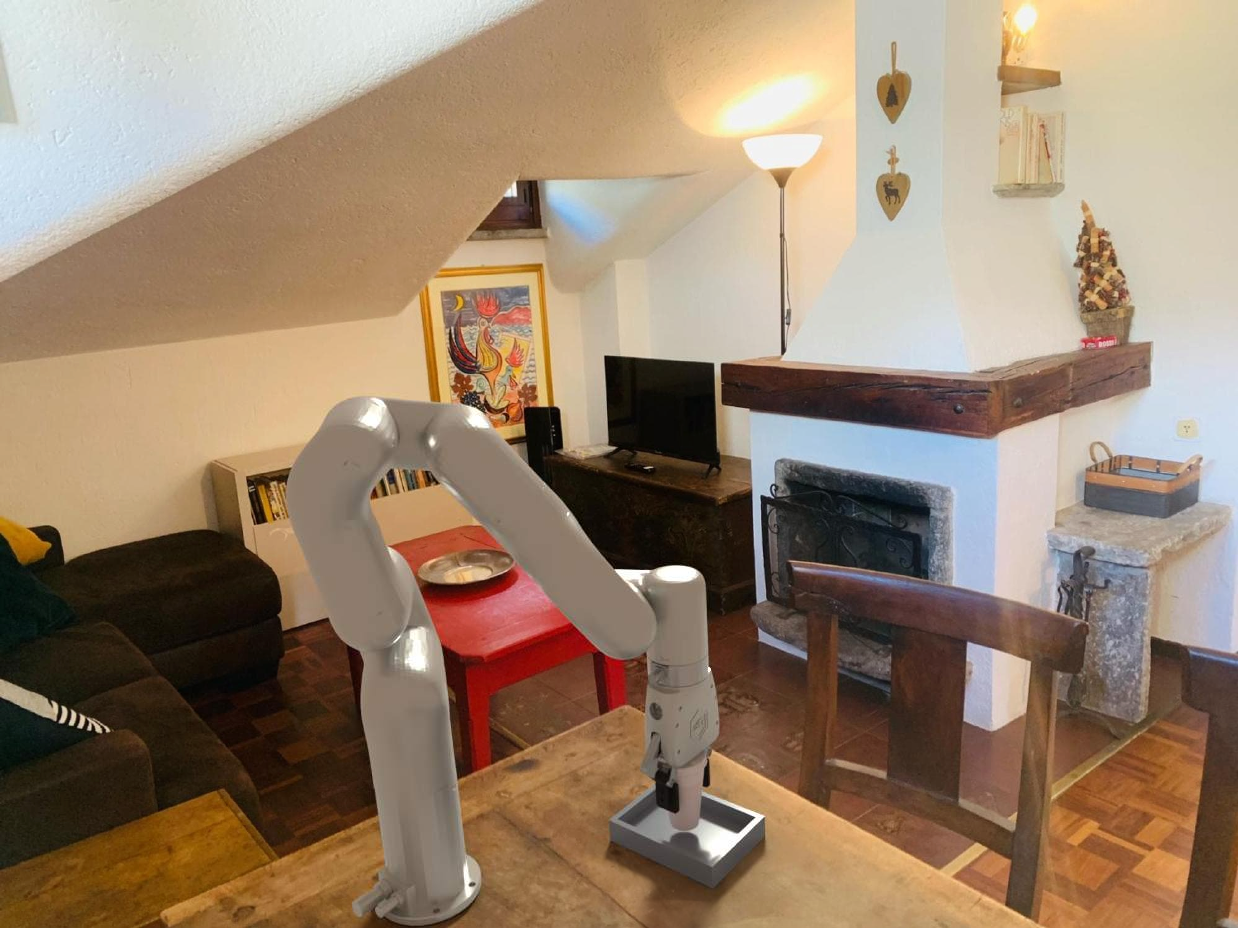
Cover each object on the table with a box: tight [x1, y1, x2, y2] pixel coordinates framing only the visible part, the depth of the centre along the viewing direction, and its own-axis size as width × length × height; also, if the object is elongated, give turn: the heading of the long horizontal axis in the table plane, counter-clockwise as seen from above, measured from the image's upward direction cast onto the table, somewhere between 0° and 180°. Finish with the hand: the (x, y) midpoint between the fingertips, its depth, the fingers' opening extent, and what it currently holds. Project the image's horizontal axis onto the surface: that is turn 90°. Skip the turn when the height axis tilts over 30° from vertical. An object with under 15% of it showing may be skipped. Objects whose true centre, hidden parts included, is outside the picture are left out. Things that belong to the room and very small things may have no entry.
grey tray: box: [608, 783, 766, 890], centre depth 120 cm, size 12×16×3 cm
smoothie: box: [662, 750, 708, 831], centre depth 118 cm, size 6×6×14 cm
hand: (683, 794), depth 118 cm, fingers closed on smoothie, 6 cm apart
